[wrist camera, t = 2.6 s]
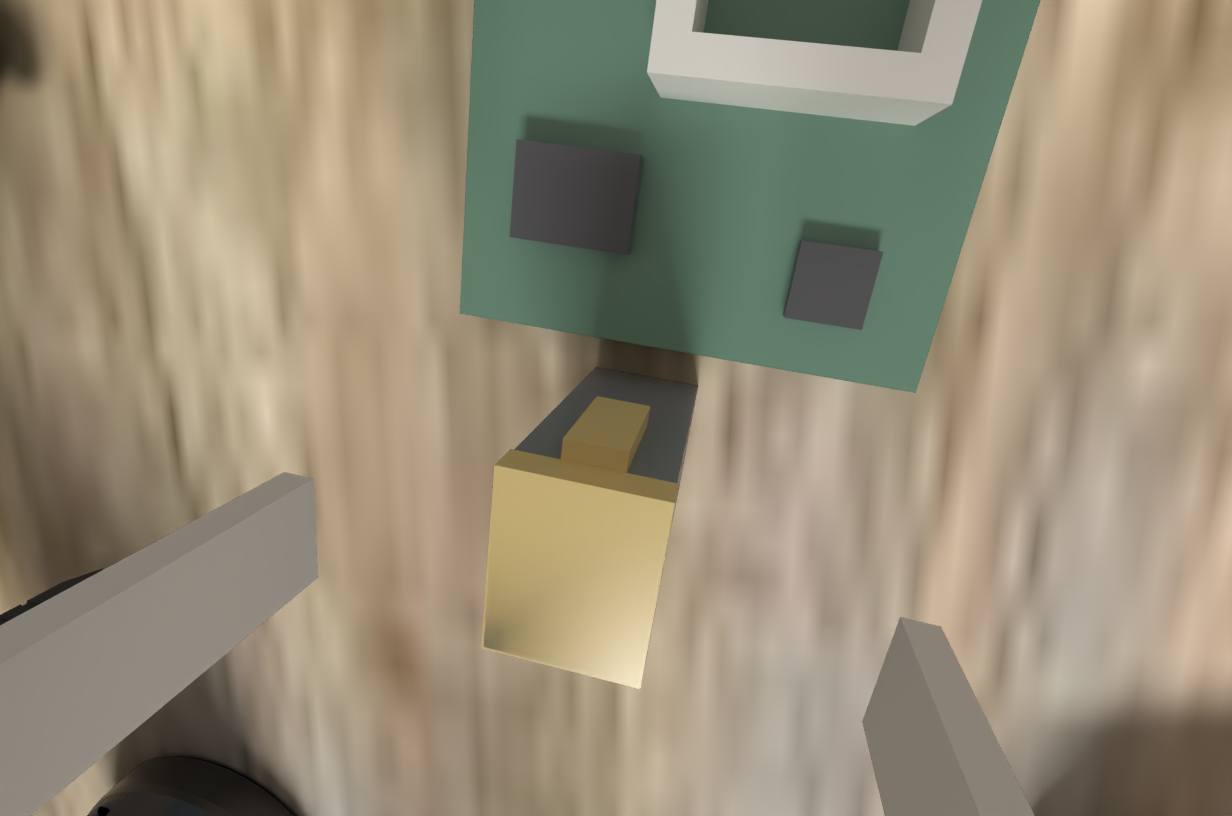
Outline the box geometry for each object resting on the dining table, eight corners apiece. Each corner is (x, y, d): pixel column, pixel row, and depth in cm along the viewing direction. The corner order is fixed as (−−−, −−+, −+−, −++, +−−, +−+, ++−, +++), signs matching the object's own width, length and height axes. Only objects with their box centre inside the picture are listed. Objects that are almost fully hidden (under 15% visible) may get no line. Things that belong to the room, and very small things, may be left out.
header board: (477, 308, 22) (417, 326, 18) (511, -306, 17) (435, -489, 12) (902, 381, 20) (947, 421, 16) (1113, -301, 14) (1270, -522, 10)
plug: (580, 483, 24) (481, 648, 14) (596, 351, 22) (496, 442, 13) (677, 503, 23) (640, 689, 14) (702, 370, 21) (679, 480, 12)
